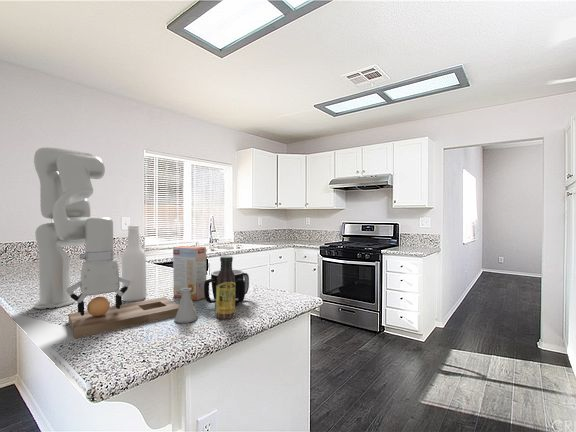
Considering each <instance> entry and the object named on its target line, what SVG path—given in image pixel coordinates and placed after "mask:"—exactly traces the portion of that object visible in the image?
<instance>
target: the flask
mask: <svg viewBox="0 0 576 432" xmlns="http://www.w3.org/2000/svg"><path fill="white" fill-rule="evenodd" d="M180 291H181V298H180V303H179V304H178V305H179V308H178V311H177V314H176V316H174V320H173V322H174V323H178V324H187V323H189V322H190V323H192V322H194V321H197V320H198V318H199V315H198V313H197V310H196V308H195V306H194V303H193V300H191V295H190V291H191V288H183V289H181V290H180ZM190 323H189V324H190Z"/></svg>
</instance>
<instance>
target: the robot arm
mask: <svg viewBox="0 0 576 432" xmlns="http://www.w3.org/2000/svg"><path fill="white" fill-rule="evenodd" d="M33 163H34V168H35V171H36V174H37V176H38V179H39V184H40V185H39V186H40V187H39V189H40V194H39V195H40V198H39V199H40V200H39V201H40V213H41V216H42V217H43V218H45V219H48V220H53V222H45V223H43V224H40V225H39V226H38V227H36V230H35V232H34V233H35V241H36V245H37V252H38V271H39V272H38V275H39V276H38V280H39V281H38V283H39V285H38V287H39V288H38V289H39V294H38V295H39V301H37V302H36V303H35V302H34V304H33V305H34V308H35V309H37V310H39V309H40V310H44V309H45V310H46V308H49V309H54V308H55V307H56V308H61V307H65V306H69V305H72V304H74V303H75V302H77V312H78V313H80V314H81V316H83V315H84V311H85V302H84V299H85V298H86V297H89V296H97V295H102V294H110V293H116V294H115V303H114V304H115V306H116V308H117V309H120V305H122V304H123V299H122V295H123V294H124V293H125V291H126V290H127V289H128V287H129V285H130V283H131V281H130V280H127V279H124V278H122V276H120V271H119V265H118V261H117V259H114V257H115V256H114V222H113V219H112V218H110V217H100V216H91V205H90V202H89V200H88V199H89V198H90V197H91V196H92V195H93V193H94V188H93V185H92V182H91V180H100V179H102V178H103V177H104V175H105V172H106V167H105V164H104V162H103V160H102V159H101V158H100V157H98V156H96V155H93V154H91V153H89V152H85V151H83V152H82V151H77V150H71V149H64V148H59V147H58V148H56V147H40V148H37V150H36V151H35V153H34V158H33ZM76 246H84V247H85V249H84V250H85V251H84V253H81V254H79V260H83V262H82V265H81V266H82V267H81V273H80V280H79V281H78V282H76V283H75V284H72V285H71V258H70V256H69V254H68V253H67V252H66V251H65V250H64V249H63V248H65V247H76ZM120 282H121V283H122V282H123V283H125V284H124V286H123V287H122V286H121V289H120V285H121V284H120ZM79 288H80V294H79V295H77V294H76V293H75V292H74V291H75V290H77V289H79ZM56 308H55V309H56Z"/></svg>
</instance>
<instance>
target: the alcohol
mask: <svg viewBox="0 0 576 432" xmlns="http://www.w3.org/2000/svg"><path fill="white" fill-rule="evenodd" d="M127 227H128V229H127V230H128V231H127V233H128V234H127V246H126V249H124V251H123V252H122V255H121V278H124V279H127V280H130V281H131V283H130V285H129V287H128V289H127V290H126V291H125V293H124V294H123V295H122V301H124V302H125V303H134V302H139V301H144V300H145V299H146V297H147V255H146V252H145V251H144V249H142V247H141V242H140V241H141V240H140V232H139V230H140V228H139V227H140V225H128V226H127ZM124 284H125V283H123V282H121V288H122V287H123V286H124Z"/></svg>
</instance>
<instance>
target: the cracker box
mask: <svg viewBox="0 0 576 432" xmlns="http://www.w3.org/2000/svg"><path fill="white" fill-rule="evenodd" d="M172 255H173V256H172V261H173V262H172V265H173V266H172V268H173V297H175V298H180V299H181V291H180V290H181V289H183V288H191V291H190V295H191V300H192V301H199V300H203V299H205V296H204V283H205V281H206V280H207V247H206V246H192V245H190V246H189V245H181V246H173V247H172Z"/></svg>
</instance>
